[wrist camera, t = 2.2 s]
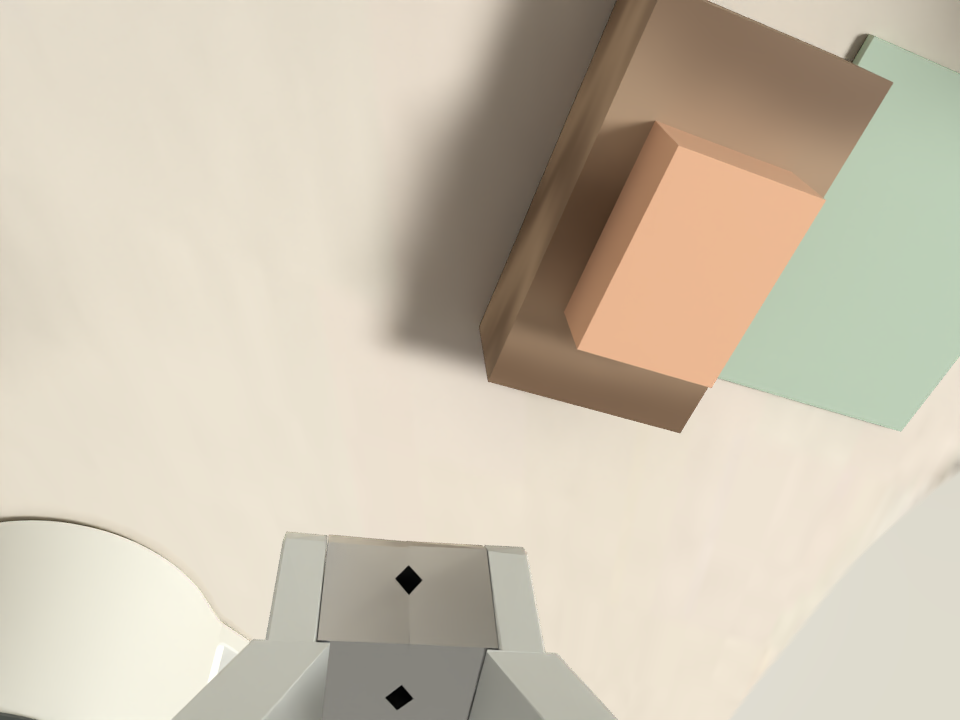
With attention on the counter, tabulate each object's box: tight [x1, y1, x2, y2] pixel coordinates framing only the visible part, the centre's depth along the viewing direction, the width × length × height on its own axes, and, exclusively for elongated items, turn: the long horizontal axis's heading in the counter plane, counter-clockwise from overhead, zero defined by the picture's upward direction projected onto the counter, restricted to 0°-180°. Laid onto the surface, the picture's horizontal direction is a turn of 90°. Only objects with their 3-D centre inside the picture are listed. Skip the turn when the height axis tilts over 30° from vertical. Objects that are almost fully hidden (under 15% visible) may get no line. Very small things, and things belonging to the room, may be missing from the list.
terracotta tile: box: [564, 121, 826, 388], centre depth 26 cm, size 7×5×2 cm
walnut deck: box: [479, 0, 894, 433], centre depth 29 cm, size 14×8×4 cm, turn 159°
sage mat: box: [718, 34, 960, 432], centre depth 32 cm, size 14×12×1 cm
